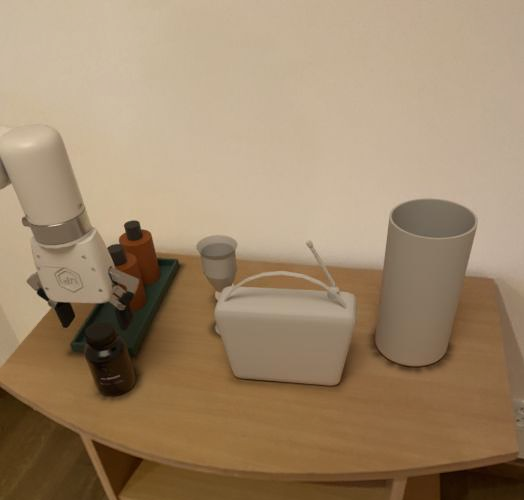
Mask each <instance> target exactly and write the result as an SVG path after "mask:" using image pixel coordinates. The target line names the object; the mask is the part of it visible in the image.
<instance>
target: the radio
mask: <svg viewBox="0 0 524 500" xmlns="http://www.w3.org/2000/svg"><path fill="white" fill-rule="evenodd" d="M305 245H306V246H307V248H309V250H310V251H311V254H313V256H314V258H315V259H316V261H317V263H318V265H319V266H320V268H321V269H322V271H323V273H324V274H325V276H326V278H327V279H328V282H329V283H330V284H331V285H330V286H329V285H327V284H325V283H324V282H323V281H321V280H319V279H317V278H314V277H312V276H309V275H306V274H305V273H299V272H292V271H286V270H278V271H277V270H276V271H263V272H260V273H258V274H255V275H252V276H248V277H246V278H245V279H243V280H242V281H240V282H239V283H237V284H236V285H234V286H229V287H226V288H224V289H223V290H222V292H221V294H220V297H219V299H218V300H217V302H216V305H215V307H214V310H213V317H214V320H215V323H217V326H218V329H219V332H220V334H219V335H220V338H221V342H222V344H223V347H224V350H225V353H226V355H227V360H228V362H229V365H230V368H231V371H232V374H233V376H235V377H236V378H238V379H244V380H245V379H246V380H256V381H266V382H267V381H269V382H282V383H293V384H305V385H316V386H317V385H318V386H331V387H332V386H337V385H339V383H340V382H341V379H342V374H343V371H344V367H345V363H346V360H347V357H348V352H349V350H350V346H351V343H352V338H353V335H354V331H355V328H356V324H357V310H358V309H357V307H358V302H357V297H356V296H355V294H353V293H351V292H349V291H342V290H341V291H340V288H339V287H338V286H337V284H336V282H335V281H334V279H333V277H332V275H331V274H330V272H329V270H328V269H327V267H326V265H325V264H324V262H323V260H322V258H321V257H320V255H319V253H318V252H317V250H316V248H315V247H314V243H313V242H312V240H311V239H309V240H307V241H306V242H305ZM273 276H285V277H292V278H299V279H303V280H306V281H308V282H311V283H312V284H315V285H318V286H320V287H321V288H323V289H325V290H320V289H319V290H318V289H300V288H299V289H297V288H282V287H281V288H280V287H279V288H278V287H277V288H276V287H259V286H243V285H244V284H246V283H247V282H250V281H254V280H256V279H259V278H263V277H273Z"/></svg>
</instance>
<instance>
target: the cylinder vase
mask: <svg viewBox="0 0 524 500" xmlns="http://www.w3.org/2000/svg"><path fill="white" fill-rule="evenodd" d="M478 224H479V218H478V216H477V214H476V213H475V212H474V211H473V210H471V209H470V208H468V207H467V206H466V205H463V204H462V203H461V204H460V203H458V202H455V201H451V200H447V199H442V198H416V199H415V198H414V199H410V200H407V201H403V202H400V203H399V204H397V205H395V206H394V207H393V208H392V209H391V210H390V212H389V215H388V225H387V234H386V241H385V242H386V243H385V250H384V260H383V268H382V276H381V285H380V292H379V293H380V294H379V301H378V311H377V319H376V326H375V327H376V328H375V337H374V338H375V339H374V341H375V342H374V343H375V345H376V348H377V350H378V351H379V353H381V354H382V356H384V357H385V358H386V359H388V360H390V361H391V362H393V363H395V364H399V365H401V366H407V367H424V366H429V365H431V364H434V363H436V362H438V361H439V360H441V359H442V358H443V357H444V355H445V354H446V353H447V351H448V346H449V342H450V339H451V335H452V330H453V325H454V323H455V322H454V321H455V318H456V314H457V309H458V305H459V301H460V298H461V293H462V290H463V289H462V288H463V286H464V281H465V277H466V273H467V269H468V266H469V265H468V264H469V261H470V257H471V253H472V249H473V244H474V240H475V236H476V232H477V229H478Z"/></svg>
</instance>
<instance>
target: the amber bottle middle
mask: <svg viewBox="0 0 524 500" xmlns="http://www.w3.org/2000/svg"><path fill="white" fill-rule="evenodd" d="M107 249H108V251H109V253H110V256H111V258H112V260H113V263H114V266H115V268H116V269H117V270H119V271H121V272H124V273H126V274H128V275H131V276H133V277H135V278H137V279H139V285H138V288H137V292H136V294H135V295H134V297H133V299H132V300H131V301H130V302H129V305H130V308H131V311H132V312H136V311H138V310H140V309H142V308H143V307H144V306H145V305H146V303H147V297H146V293H145V289H144V285H143V282H142V278H141V274H140V270H139V266H138V263H137V259H136V257H135V256H134V255H133V254H131V253H125V251H124V247H123V245H121V244H119V243H114V244H111V245H109V246H107ZM119 286H120V287H121V288H122V289H123V290H125V291H127V287H126V286H124V285H122V284H120V283H119ZM113 295H115V296H116V297H117V298H118V299H120V297H119V296H118V295H117V294H115V293H113ZM114 307H115V306H114ZM115 309H116V307H115Z"/></svg>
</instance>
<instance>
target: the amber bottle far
mask: <svg viewBox="0 0 524 500" xmlns="http://www.w3.org/2000/svg"><path fill="white" fill-rule="evenodd" d="M123 228H124V231H125V232H124V233H122V234H121V235H120V236H119V238H118V244H121V245H123V247H124V251H125V253H131V254H133V255H134V256H135V257H136V259H137V263H138V266H139V270H140V274H141V278H142V282H143V285H144V286H147V285H151V284H153V283H155V282H157V281H158V280H159V279H160V276H161V274H160V269H159V265H158V261H157V258H158V257H157V252H156V248H155V244H154V240H153V236H152V233H151V232H150V231H149V230H147V229H142V227H141V223H140V221H139V220H135V219H133V220H132V219H131V220H129V221H126V222H125V223H124V224H123Z"/></svg>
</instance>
